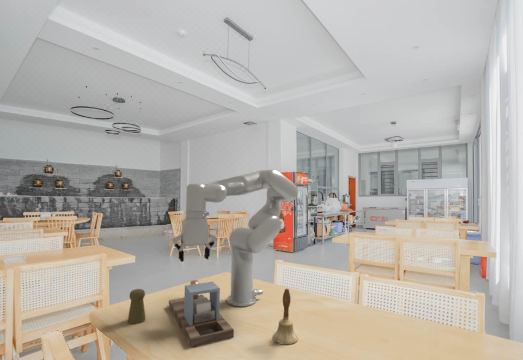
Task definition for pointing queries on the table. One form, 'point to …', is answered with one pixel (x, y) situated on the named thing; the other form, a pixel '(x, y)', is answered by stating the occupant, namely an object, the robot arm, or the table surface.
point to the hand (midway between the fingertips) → (194, 259)
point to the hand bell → (285, 324)
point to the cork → (136, 307)
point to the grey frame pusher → (204, 315)
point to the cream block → (201, 305)
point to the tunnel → (201, 289)
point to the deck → (200, 326)
